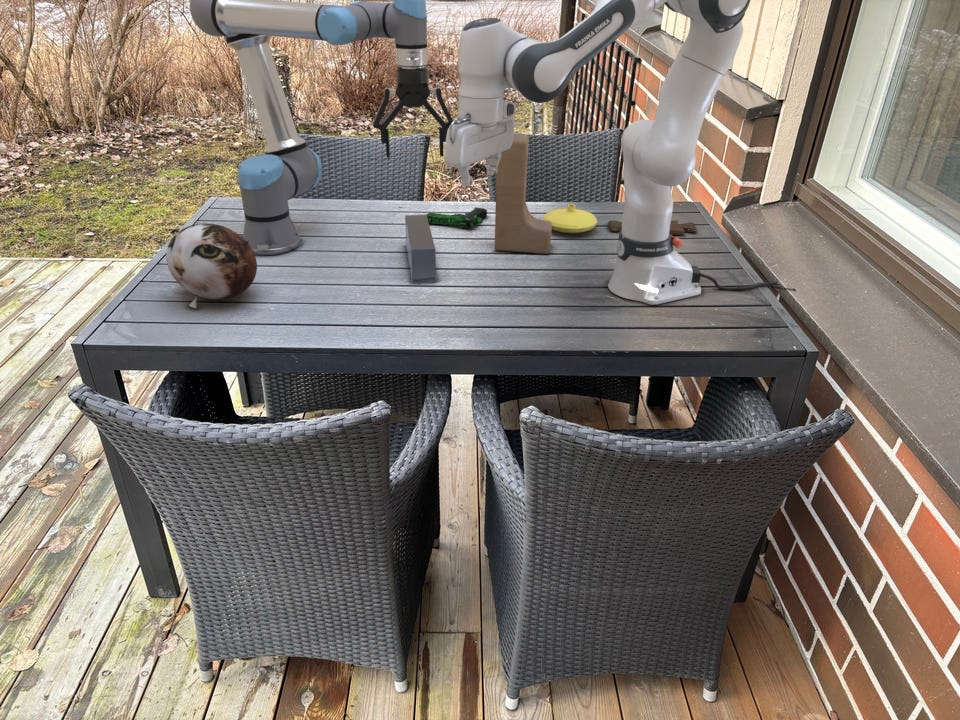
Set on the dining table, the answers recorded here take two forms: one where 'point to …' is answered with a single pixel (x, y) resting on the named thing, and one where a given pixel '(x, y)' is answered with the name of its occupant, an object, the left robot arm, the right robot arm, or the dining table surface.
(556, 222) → the yellow lid
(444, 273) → the dining table surface
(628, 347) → the dining table surface
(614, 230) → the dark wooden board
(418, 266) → the bar
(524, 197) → the decorative block
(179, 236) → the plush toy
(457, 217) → the handgun
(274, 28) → the left robot arm
